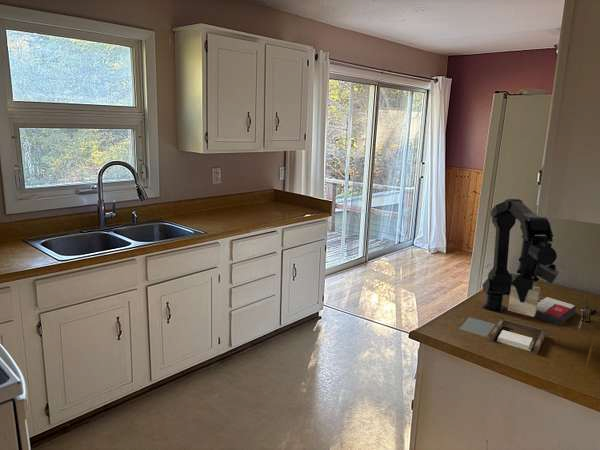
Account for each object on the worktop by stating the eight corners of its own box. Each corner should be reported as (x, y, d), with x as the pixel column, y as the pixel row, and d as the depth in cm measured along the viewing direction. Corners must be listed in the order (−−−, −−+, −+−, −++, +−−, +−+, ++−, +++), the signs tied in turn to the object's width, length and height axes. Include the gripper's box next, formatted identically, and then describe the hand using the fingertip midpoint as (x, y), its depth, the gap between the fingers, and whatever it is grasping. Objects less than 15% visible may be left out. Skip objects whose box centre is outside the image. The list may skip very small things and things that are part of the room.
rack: (500, 326, 161) (501, 318, 161) (544, 338, 153) (545, 329, 153) (489, 342, 149) (490, 333, 149) (536, 356, 142) (537, 347, 141)
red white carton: (529, 306, 170) (546, 295, 180) (528, 317, 171) (544, 305, 181) (561, 317, 162) (576, 304, 172) (559, 327, 163) (575, 314, 173)
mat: (469, 318, 166) (469, 317, 166) (495, 325, 161) (495, 324, 161) (458, 330, 157) (458, 328, 157) (486, 338, 152) (486, 336, 152)
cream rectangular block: (510, 306, 156) (514, 281, 154) (536, 312, 152) (540, 287, 149) (507, 310, 153) (511, 285, 151) (533, 317, 148) (538, 291, 146)
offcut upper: (502, 333, 154) (502, 329, 154) (532, 341, 149) (532, 338, 149) (497, 341, 149) (498, 337, 149) (528, 349, 144) (529, 345, 144)
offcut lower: (501, 337, 155) (501, 333, 155) (533, 346, 149) (534, 342, 149) (496, 345, 149) (496, 341, 149) (529, 354, 144) (530, 350, 143)
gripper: (554, 268, 136) (546, 316, 139) (562, 253, 150) (555, 297, 154) (514, 260, 142) (507, 306, 146) (525, 246, 157) (519, 289, 160)
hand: (523, 300), depth 151 cm, fingers closed on cream rectangular block, 4 cm apart
